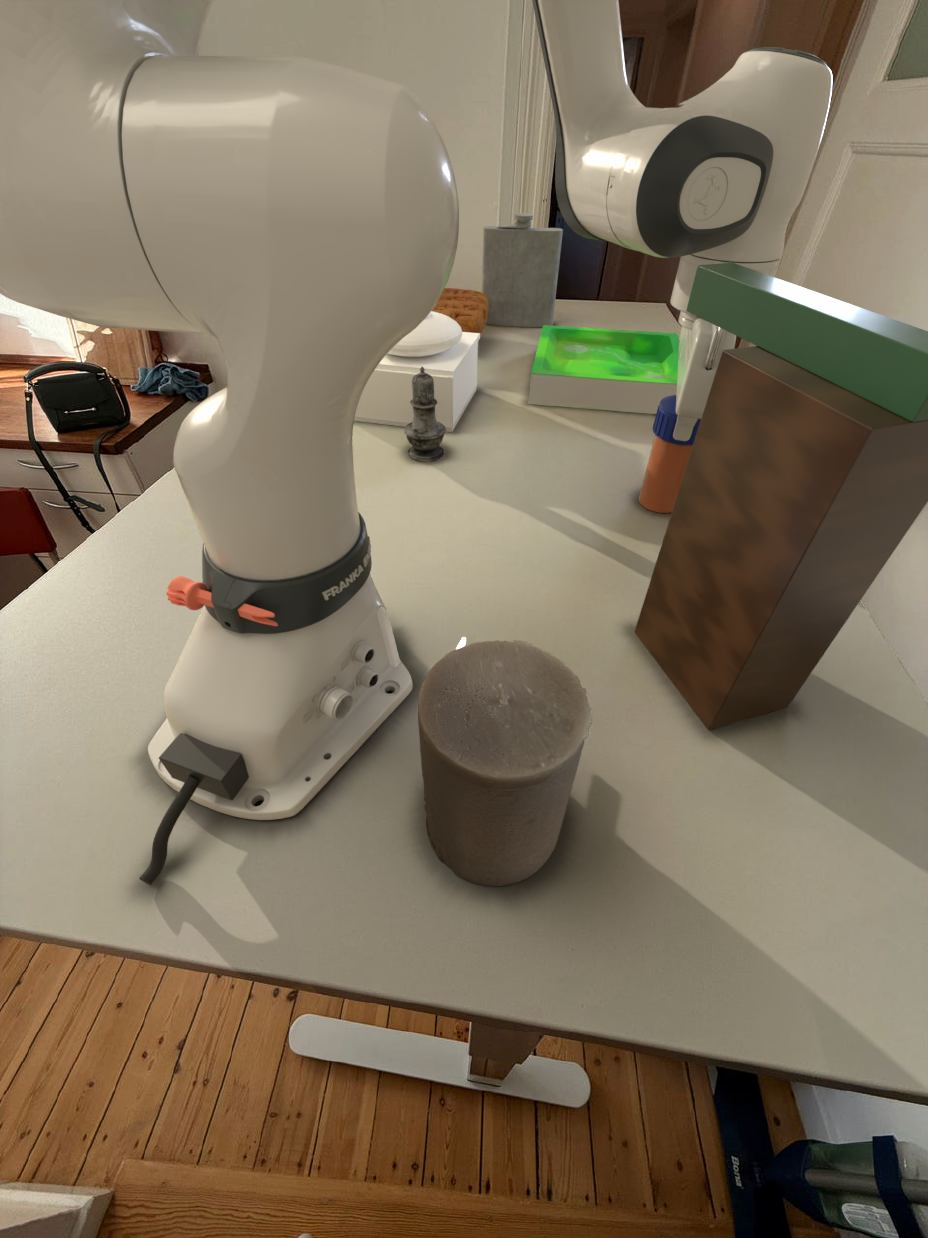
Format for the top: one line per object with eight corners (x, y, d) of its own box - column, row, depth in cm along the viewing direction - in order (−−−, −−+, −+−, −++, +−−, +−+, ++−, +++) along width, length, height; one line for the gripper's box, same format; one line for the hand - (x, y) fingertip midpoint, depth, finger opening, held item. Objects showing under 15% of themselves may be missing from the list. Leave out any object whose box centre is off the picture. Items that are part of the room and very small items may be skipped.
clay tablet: (417, 322, 123) (415, 281, 118) (493, 327, 121) (494, 285, 115) (389, 356, 108) (385, 311, 102) (476, 363, 105) (477, 317, 100)
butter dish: (345, 419, 87) (328, 307, 76) (383, 377, 100) (374, 276, 89) (452, 432, 84) (452, 317, 73) (478, 387, 97) (481, 284, 86)
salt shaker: (441, 464, 77) (439, 376, 69) (400, 460, 78) (393, 372, 70) (450, 445, 81) (449, 360, 73) (411, 441, 82) (406, 356, 74)
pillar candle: (411, 872, 37) (392, 748, 27) (441, 749, 44) (436, 612, 34) (556, 900, 36) (596, 782, 26) (564, 769, 43) (598, 634, 33)
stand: (633, 632, 54) (722, 349, 36) (704, 615, 56) (822, 337, 38) (708, 731, 46) (872, 428, 28) (788, 707, 47) (991, 409, 29)
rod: (685, 311, 42) (697, 264, 40) (719, 307, 42) (732, 262, 40) (912, 422, 28) (948, 361, 26) (956, 415, 29) (996, 354, 27)
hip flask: (552, 322, 124) (564, 212, 110) (552, 328, 121) (564, 216, 107) (481, 319, 125) (484, 210, 111) (479, 325, 122) (482, 213, 108)
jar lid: (707, 448, 62) (716, 420, 59) (650, 440, 63) (658, 412, 61) (706, 425, 66) (715, 398, 64) (653, 418, 67) (660, 391, 65)
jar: (677, 516, 68) (708, 422, 60) (635, 507, 70) (659, 414, 61) (682, 496, 72) (712, 404, 63) (642, 487, 73) (665, 397, 65)
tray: (528, 403, 92) (531, 372, 89) (540, 352, 110) (543, 324, 106) (683, 416, 89) (692, 384, 86) (670, 361, 107) (677, 333, 103)
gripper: (764, 321, 46) (711, 471, 56) (748, 267, 60) (708, 394, 70) (686, 314, 48) (647, 462, 57) (688, 262, 62) (656, 387, 71)
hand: (681, 424), depth 64 cm, fingers closed on jar lid, 6 cm apart
